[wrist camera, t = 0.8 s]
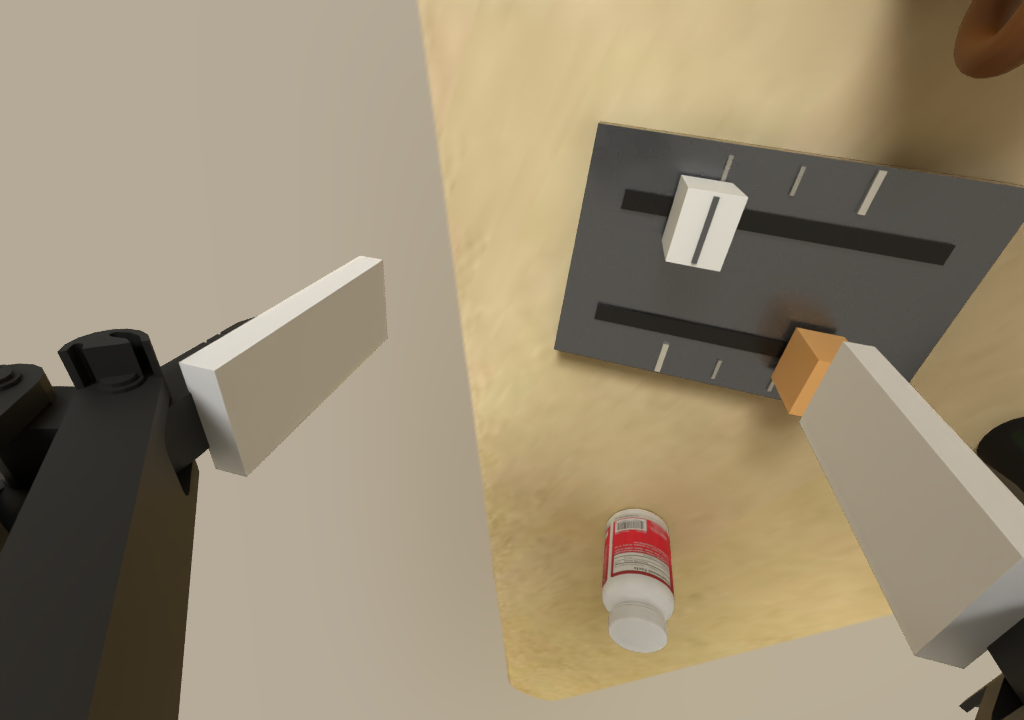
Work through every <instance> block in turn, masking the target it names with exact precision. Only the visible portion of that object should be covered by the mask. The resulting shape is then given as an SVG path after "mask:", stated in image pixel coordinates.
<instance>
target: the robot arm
mask: <svg viewBox="0 0 1024 720" xmlns="http://www.w3.org/2000/svg"><path fill="white" fill-rule="evenodd" d="M383 271H384V270H383V260H381V259H375V258H370V257H364V256H359V257H357V258H356V259H354V260H352V261H351V262H349V263H347V264H345V265H344V266H342V267H340V268H338V269H337V270H335V271H334V272H332V273H330V274H328V275H327V276H325V277H323V278H322V279H320V280H318V281H317V282H315V283H313V284H311V285H310V286H308V287H306V288H305V289H303V290H301V291H299V292H298V293H296V294H294V295H293V296H291V297H289V298H288V299H286V300H284V301H282V302H281V303H279V304H277V305H276V306H274V307H272V308H271V309H269V310H267V311H265V312H264V313H262V314H261V315H259V316H257V317H253V318H250V319H247V320H244V321H241V322H238V323H236V324H234V325H232V326H231V327H229V328H227V329H226V330H224V331H222V332H221V334H220V335H219V334H217V335H215V336H214V337H212V338H210V339H208V340H207V342H206V343H204V342H203V343H201V344H199V345H198V346H196V347H194V348H192V349H191V350H189V351H187V352H185V353H184V354H182V355H180V356H179V357H177V358H175V359H173V360H172V361H170V362H168V363H166V364H165V365H163V366H161V367H160V365H159V362H158V360H157V357H156V354H155V352H154V350H153V346H152V344H151V341H150V338H149V336H148V334H146V333H144V332H142V331H140V330H133V329H113V330H106V331H101V332H95V333H92V334H89V335H86V336H83V337H79V338H77V339H75V340H73V341H71V342H69V343H67V344H65V345H64V346H63V347H62V348H61V349H60V350H59V351H58V354H59V356H60V358H61V360H62V362H63V364H64V366H65V368H66V370H67V372H68V374H69V376H70V378H71V380H72V381H73V383H74V385H75V387H67V386H66V387H64V386H54V387H53V386H51V384H50V382H49V380H48V378H47V376H46V374H45V373H44V371H43V369H42V368H41V367H39V366H36V365H33V364H12V365H0V720H178V714H179V703H180V691H181V679H182V668H183V656H184V644H185V631H186V620H187V609H188V597H189V585H190V573H191V562H192V550H193V539H194V527H195V515H196V503H197V491H198V480H199V470H198V466H197V463H196V461H195V459H196V458H198V457H199V456H200V455H201V454H202V453H204V452H205V451H206V450H207V449H208V448H209V451H210V454H211V456H212V459H213V462H214V465H215V468H216V469H219V470H223V471H226V472H230V473H234V474H238V475H241V476H245V477H247V476H248V475H249V474H250V473H251V472H252V471H253V470H254V469H255V468H256V467H257V466H258V465H259V464H260V463H261V462H262V461H263V460H264V459H265V458H266V457H267V456H268V455H269V454H270V453H271V452H272V451H273V450H274V449H275V448H276V447H277V446H278V445H279V444H281V442H283V441H284V440H285V439H286V437H288V436H289V435H290V434H291V433H292V432H293V431H294V429H296V428H297V427H298V426H299V425H300V424H301V423H302V422H303V421H304V420H305V419H306V418H307V417H308V416H309V415H310V414H311V413H312V412H313V411H314V410H315V409H316V408H317V407H318V406H319V405H320V404H321V403H322V402H323V401H324V400H325V399H326V398H327V397H328V396H329V395H330V394H331V393H332V392H333V391H334V390H335V389H336V388H337V387H338V386H339V385H340V384H341V383H342V382H344V381H345V380H346V379H347V377H349V376H350V374H352V373H353V372H354V371H355V370H356V369H357V367H359V366H360V365H361V364H362V363H363V362H364V361H365V360H366V359H367V358H368V357H369V356H370V355H371V354H372V353H373V352H374V351H375V350H376V349H377V348H378V347H379V346H380V345H381V344H382V343H383V342H384V341H385V340H386V339H387V337H388V335H387V319H386V303H385V287H384V272H383ZM799 423H800V425H801V427H802V429H803V431H804V433H805V435H806V437H807V439H808V441H809V443H810V445H811V447H812V449H813V451H814V453H815V455H816V457H817V459H818V462H819V464H820V466H821V468H822V470H823V472H824V474H825V476H826V478H827V480H828V482H829V484H830V486H831V488H832V490H833V492H834V494H835V496H836V498H837V500H838V502H839V504H840V506H841V508H842V510H843V512H844V514H845V516H846V518H847V520H848V522H849V524H850V526H851V528H852V530H853V532H854V534H855V536H856V539H857V541H858V543H859V545H860V547H861V549H862V551H863V553H864V555H865V557H866V559H867V561H868V563H869V565H870V567H871V569H872V571H873V573H874V575H875V577H876V579H877V581H878V583H879V585H880V587H881V589H882V591H883V593H884V595H885V597H886V599H887V601H888V603H889V605H890V607H891V609H892V611H893V614H894V616H895V617H896V620H897V621H898V623H899V626H900V628H901V630H902V632H903V634H904V636H905V638H906V640H907V642H908V644H909V646H910V648H911V650H912V652H913V654H914V655H915V656H918V657H922V658H925V659H929V660H933V661H936V662H940V663H944V664H948V665H951V666H955V667H959V668H962V669H964V668H965V667H967V666H968V665H969V664H970V663H972V662H973V661H974V660H975V659H976V658H978V657H979V656H981V655H982V654H983V653H984V652H985V651H987V650H988V651H989V652H990V653H991V655H992V657H993V658H994V660H995V662H996V663H997V665H998V666H999V668H1000V670H1001V671H1002V674H1000V675H999V676H997V677H996V678H995V679H993V680H992V681H991V682H989V683H988V684H987V685H985V686H984V687H982V688H981V689H980V690H978V691H977V692H976V693H974V694H973V695H972V696H970V697H969V698H968V699H966V700H965V701H964V702H963V703H962V704H961V705H960V707H961V708H962V709H964V710H965V711H966V712H968V711H970V710H971V709H973V708H974V707H979V710H978V713H977V715H976V718H975V720H1024V492H1023V491H1022V490H1021V489H1020V488H1019V487H1018V486H1017V485H1016V484H1014V483H1013V482H1012V481H1010V480H1009V479H1007V478H1006V477H1005V476H1003V475H1002V474H1000V473H999V472H998V471H996V470H995V469H993V468H992V467H990V466H989V465H988V464H986V463H983V462H982V460H981V459H980V458H979V457H978V456H977V455H976V454H975V453H974V452H973V451H972V450H971V449H970V448H969V447H968V446H967V444H966V443H965V442H964V441H963V440H962V439H961V438H960V437H959V436H958V435H957V434H956V433H955V432H954V431H953V430H952V428H951V427H950V426H949V425H948V424H947V423H946V422H945V421H944V420H943V419H942V418H941V417H940V416H939V415H938V414H937V413H936V411H935V410H934V409H933V408H932V407H931V406H930V405H929V404H928V403H927V402H926V401H925V400H924V399H923V398H922V397H921V395H920V394H919V393H918V392H917V391H916V390H915V389H914V388H913V387H912V386H911V385H910V384H909V383H908V382H907V381H906V379H905V378H904V377H903V376H902V375H901V374H900V373H899V372H898V371H897V370H896V369H895V368H894V367H893V366H892V365H891V363H890V362H889V361H888V360H887V359H886V358H885V357H884V356H883V355H882V354H881V353H880V352H879V351H878V350H877V349H876V348H875V347H873V346H868V345H862V344H856V343H851V342H845V341H843V342H842V344H841V346H840V348H839V350H838V352H837V353H836V355H835V357H834V359H833V361H832V363H831V364H830V366H829V368H828V370H827V372H826V374H825V375H824V377H823V379H822V381H821V383H820V385H819V386H818V388H817V390H816V392H815V394H814V396H813V397H812V399H811V401H810V403H809V405H808V407H807V408H806V410H805V412H804V414H803V416H802V418H801V419H800V421H799Z"/></svg>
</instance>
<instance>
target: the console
mask: <svg viewBox="0 0 1024 720" xmlns="http://www.w3.org/2000/svg"><path fill="white" fill-rule="evenodd" d="M681 175H686V176H692V177H698V178H704V179H710V180H716V181H723V182H729V183H733V184H734V185H735V186H736V187H738V188H739V189H740V190H741V191H742V192H743V193H744V194H745V195H746V196H747V197H748V200H747V202H746V205H745V208H744V210H743V213H742V215H741V218H740V221H739V223H738V226H737V228H736V231H735V234H734V236H733V239H732V241H731V244H730V247H729V249H728V252H727V255H726V257H725V260H724V262H723V265H722V268H721V270H720V272H719V271H714V270H708V269H703V268H698V267H693V266H687V265H682V264H677V263H672V262H666V261H665V256H664V251H663V245H662V238H663V234H664V231H665V228H666V224H667V221H668V218H669V214H670V211H671V207H672V204H673V201H674V197H675V194H676V191H677V187H678V184H679V181H680V177H681ZM1023 222H1024V186H1022V185H1017V184H1011V183H1004V182H997V181H991V180H984V179H978V178H971V177H964V176H958V175H951V174H945V173H938V172H931V171H925V170H918V169H912V168H905V167H898V166H892V165H885V164H878V163H872V162H865V161H859V160H852V159H845V158H839V157H832V156H826V155H819V154H812V153H806V152H799V151H793V150H786V149H779V148H773V147H766V146H760V145H753V144H746V143H740V142H733V141H727V140H720V139H713V138H707V137H700V136H694V135H687V134H680V133H674V132H667V131H661V130H654V129H647V128H641V127H634V126H628V125H621V124H614V123H608V122H601V121H600V122H599V123H598V128H597V133H596V138H595V143H594V148H593V153H592V158H591V163H590V168H589V173H588V178H587V184H586V189H585V194H584V199H583V204H582V209H581V214H580V219H579V224H578V229H577V234H576V239H575V245H574V250H573V255H572V260H571V265H570V270H569V275H568V280H567V285H566V290H565V295H564V300H563V306H562V311H561V316H560V321H559V326H558V331H557V336H556V341H555V346H554V349H555V350H559V351H564V352H568V353H573V354H577V355H582V356H586V357H591V358H595V359H600V360H604V361H609V362H613V363H618V364H622V365H627V366H631V367H635V368H640V369H644V370H649V371H653V372H658V373H662V374H667V375H671V376H676V377H680V378H685V379H689V380H694V381H698V382H703V383H707V384H712V385H716V386H721V387H725V388H730V389H734V390H739V391H743V392H748V393H752V394H756V395H761V396H765V397H770V398H774V399H779V400H782V399H781V397H780V395H779V393H778V391H777V388H776V386H775V384H774V382H773V380H772V378H771V376H772V374H773V372H774V370H775V368H776V366H777V364H778V362H779V360H780V358H781V357H782V355H783V353H784V351H785V349H786V347H787V345H788V343H789V341H790V339H791V337H792V335H793V333H794V331H795V329H796V327H797V328H802V329H807V330H812V331H817V332H822V333H827V334H832V335H837V336H842V337H845V338H846V339H847V340H848V342H851V343H856V344H862V345H868V346H873V347H875V348H876V349H877V350H878V351H879V352H880V353H881V354H882V355H883V356H884V357H885V358H886V359H887V360H888V361H889V362H890V363H891V365H892V366H893V367H894V368H895V369H896V370H897V371H898V372H899V373H900V374H901V375H902V376H903V377H904V378H905V379H906V381H907V382H908V383H909V382H910V380H911V379H912V378H913V376H914V375H915V373H916V372H917V371H918V369H919V368H920V366H921V365H922V364H923V362H924V361H925V359H926V358H927V357H928V355H929V354H930V352H931V351H932V350H933V348H934V347H935V345H936V344H937V342H938V341H939V340H940V338H941V337H942V335H943V334H944V333H945V331H946V330H947V328H948V327H949V326H950V324H951V323H952V321H953V320H954V319H955V317H956V316H957V314H958V313H959V312H960V310H961V309H962V307H963V306H964V305H965V303H966V302H967V300H968V299H969V298H970V296H971V295H972V293H973V292H974V291H975V289H976V288H977V286H978V285H979V284H980V282H981V281H982V279H983V278H984V277H985V275H986V274H987V272H988V271H989V270H990V268H991V267H992V265H993V264H994V263H995V261H996V260H997V258H998V257H999V256H1000V254H1001V253H1002V251H1003V250H1004V249H1005V247H1006V246H1007V244H1008V243H1009V242H1010V240H1011V239H1012V237H1013V236H1014V235H1015V233H1016V232H1017V230H1018V229H1019V228H1020V226H1021V225H1022V223H1023Z"/></svg>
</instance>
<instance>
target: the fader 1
mask: <svg viewBox="0 0 1024 720" xmlns="http://www.w3.org/2000/svg"><path fill="white" fill-rule="evenodd" d="M747 200H748V197H747V196H746V195H745V194H744V193H743V192H742V191H741V190H740V189H739V188H738V187H736V186H735V185H734V184H733V183H729V182H723V181H716V180H710V179H704V178H698V177H692V176H686V175H681V177H680V181H679V184H678V187H677V191H676V194H675V197H674V201H673V204H672V207H671V211H670V214H669V218H668V221H667V224H666V228H665V231H664V234H663V238H662V245H663V251H664V256H665V261H666V262H672V263H677V264H682V265H687V266H693V267H698V268H703V269H708V270H714V271H719V272H720V270H721V268H722V265H723V262H724V260H725V257H726V255H727V252H728V249H729V247H730V244H731V241H732V239H733V236H734V234H735V231H736V228H737V226H738V223H739V221H740V218H741V215H742V213H743V210H744V208H745V205H746V202H747Z"/></svg>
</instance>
